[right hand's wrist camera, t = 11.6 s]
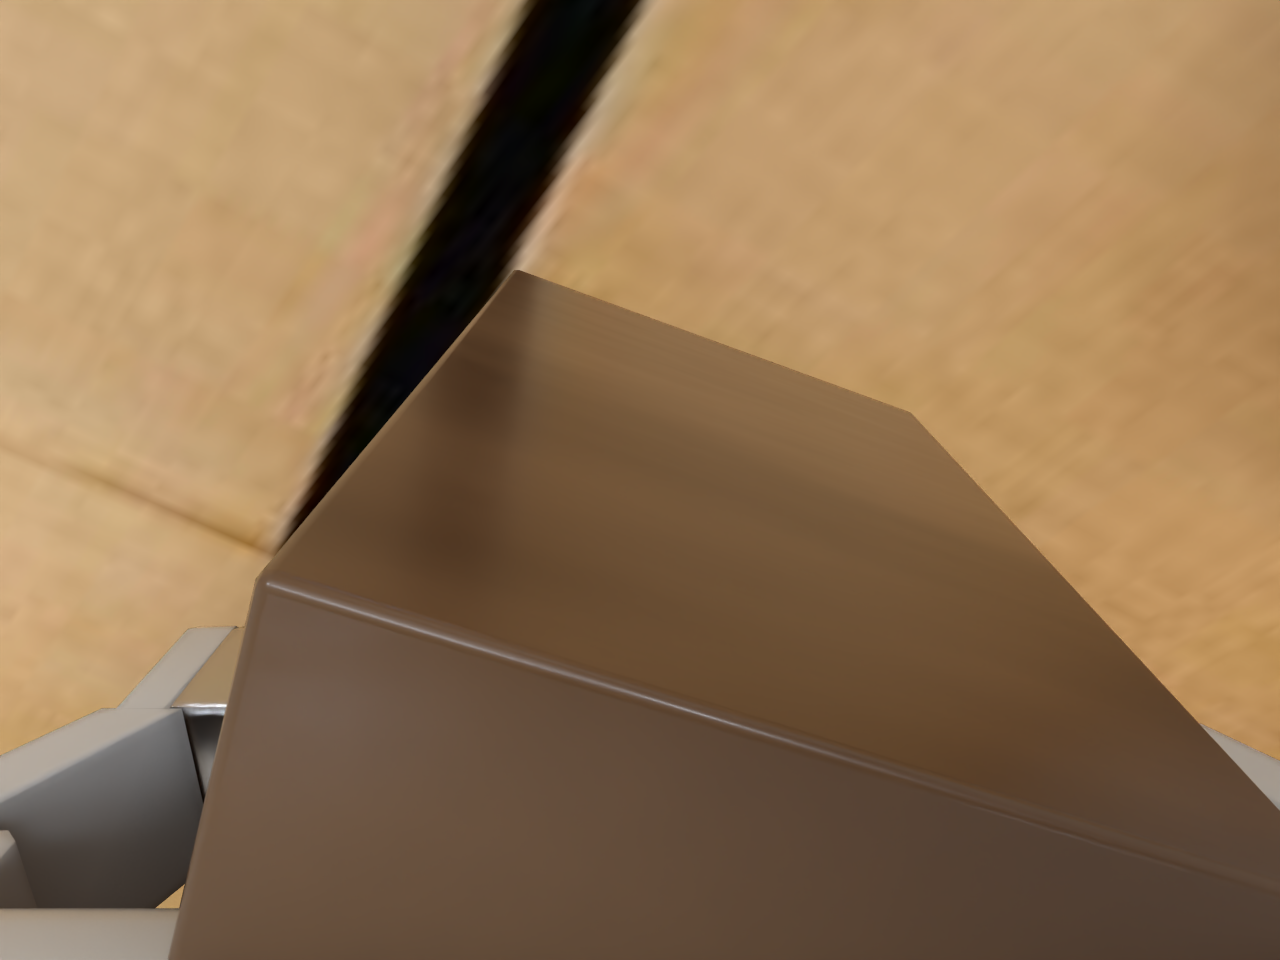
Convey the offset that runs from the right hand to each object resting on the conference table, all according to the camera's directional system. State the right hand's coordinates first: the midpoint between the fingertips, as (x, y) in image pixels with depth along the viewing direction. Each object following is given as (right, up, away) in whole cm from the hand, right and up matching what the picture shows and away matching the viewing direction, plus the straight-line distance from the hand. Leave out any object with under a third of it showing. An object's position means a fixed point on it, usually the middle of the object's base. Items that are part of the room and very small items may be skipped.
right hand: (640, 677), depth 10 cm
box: (-3, -6, +6) cm, 8 cm away
